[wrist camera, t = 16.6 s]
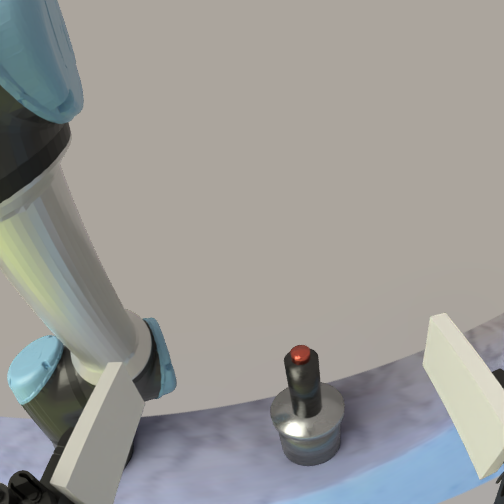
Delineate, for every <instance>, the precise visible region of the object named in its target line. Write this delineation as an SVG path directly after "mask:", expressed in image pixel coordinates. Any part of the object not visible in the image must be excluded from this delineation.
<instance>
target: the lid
mask: <svg viewBox="0 0 504 504" xmlns="http://www.w3.org/2000/svg"><path fill="white" fill-rule="evenodd" d="M284 364H285V369H286V375H287V381H288V386H289V387H288V388H286V389H284V390H283V391H282V392H280V393H279V394H278V395H277V396H276V398H275V399H274V401H273V403H272V405H271V410H270V413H271V419H272V422H273V425H274V427H275V428H276V430H277V431H278V432H279V433H280V434H282V435H283V436H285V437H287V438H289V439H292V440H296V441H313V440H317V439H320V438H323V437H325V436H327V435H329V434H330V433H332V432H333V431H334V430H335V429H336V428H337V427H338V426H339V425H340V423H341V421H342V419H343V417H344V400H343V397H342V395H341V394H340V393H339V391H338V390H337V389H335V388H334V387H332V386H330V385H328V384H325V383H322V382H320V372H319V361H318V354H317V353H316V352H315V351H314V350H312V349H309V348H308V347H307V346H305V345H298V346H295V347H293V348H292V349H291V351H290V352H289V353H288V354H287V355H286V356H285V358H284Z"/></svg>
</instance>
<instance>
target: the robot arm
mask: <svg viewBox="0 0 504 504" xmlns="http://www.w3.org/2000/svg"><path fill="white" fill-rule="evenodd" d="M83 102H84V100H83V91H82V85H81V80H80V77H79V74H78V70H77V67H76V60H75V56H74V52H73V49H72V45H71V42H70V38H69V35H68V32H67V29H66V25H65V22H64V19H63V16H62V13H61V10H60V7H59V4H58V1H57V0H0V270H1V271H2V272H3V274H4V275H5V277H6V278H7V279H8V280H9V282H10V283H11V284H12V286H13V287H14V288H15V289H16V291H17V292H18V293H19V294H20V296H21V297H22V298H23V299H24V300H25V302H26V303H27V304H28V305H29V307H30V308H31V309H32V310H33V311H34V312H35V314H36V315H37V316H38V317H39V318H40V319H41V320H42V321H43V322H44V324H45V325H46V326H47V327H48V328H49V329H50V330H51V331H52V332H53V334H54V335H55V336H52V335H47V336H44V337H41V338H39V339H37V340H35V341H33V342H32V343H30V344H29V345H28V346H26V347H25V348H24V349H23V350H22V351H21V352H20V353H19V354H18V355H17V356H16V357H15V359H14V360H13V362H12V363H11V365H10V368H9V370H8V375H7V377H8V378H7V379H8V384H9V386H10V388H11V390H12V391H13V393H14V395H15V396H16V398H17V401H18V402H19V403H20V404H21V405H22V406H23V408H24V409H25V410H26V412H27V413H28V414H29V415H30V417H31V418H32V419H33V420H34V422H35V423H36V424H37V425H38V426H39V428H40V429H41V430H42V431H43V432H44V433H45V435H46V436H47V437H48V438H49V439H50V440H51V441H52V443H53V445H54V447H55V450H54V452H53V453H54V454H52V456H51V459H50V461H49V463H48V465H47V467H46V469H45V471H44V474H43V476H42V478H41V480H40V482H39V481H38V480H37V479H36V478H35V477H34V476H33V475H32V474H31V473H29V472H28V471H24V470H22V471H18V472H16V473H15V474H13V476H12V477H11V478H10V480H9V483H8V487H7V486H5V485H4V484H2V483H0V504H113V502H114V499H115V496H116V492H117V489H118V486H119V482H120V479H121V476H122V473H123V470H124V467H125V466H126V465H127V463H128V462H129V460H130V458H131V455H132V451H133V439H134V436H135V433H136V430H137V427H138V424H139V421H140V418H141V415H142V412H143V409H144V406H145V401H148V400H151V399H158V398H160V397H162V396H163V395H165V394H168V393H170V392H172V391H173V390H174V389H175V388H176V377H175V373H174V369H173V366H172V364H171V359H170V355H169V352H168V349H167V346H166V343H165V340H164V337H163V334H162V332H161V329H160V326H159V324H158V322H157V321H156V320H155V319H154V318H143V319H142V318H141V317H140V316H138V315H137V314H135V313H134V312H132V311H130V310H128V309H124V307H123V305H122V304H121V302H120V300H119V298H118V296H117V294H116V292H115V290H114V288H113V286H112V284H111V282H110V280H109V278H108V276H107V274H106V272H105V270H104V268H103V266H102V264H101V262H100V260H99V258H98V256H97V253H96V251H95V249H94V247H93V245H92V242H91V240H90V238H89V236H88V233H87V231H86V229H85V227H84V224H83V222H82V220H81V217H80V215H79V212H78V210H77V208H76V205H75V203H74V200H73V198H72V195H71V192H70V190H69V187H68V185H67V182H66V179H65V177H64V174H63V171H62V168H61V165H60V162H61V160H62V158H63V157H64V155H65V153H66V151H67V149H68V147H69V146H70V143H71V138H72V135H71V131H70V127H69V123H68V122H69V121H71V120H72V119H73V118H74V116H76V115H77V114H79V113H80V112H81V110H82V108H83ZM63 344H64V345H63ZM422 365H423V367H424V369H425V370H426V372H427V374H428V376H429V378H430V379H431V381H432V383H433V385H434V387H435V389H436V390H437V392H438V394H439V396H440V398H441V400H442V402H443V404H444V406H445V407H446V409H447V411H448V413H449V415H450V417H451V419H452V421H453V423H454V425H455V427H456V429H457V431H458V433H459V435H460V437H461V439H462V441H463V444H464V446H465V448H466V450H467V452H468V454H469V456H470V459H471V461H472V463H473V465H474V467H475V470H476V472H477V474H478V476H479V479H480V480H481V479H483V478H485V477H487V476H489V475H491V474H493V473H495V472H497V471H498V469H499V468H500V467H501V465H502V464H503V463H504V371H503V370H502V369H498V370H495V371H493V372H491V371H490V370H489V368H488V367H487V365H486V364H485V363H484V361H483V360H482V359H481V357H480V356H479V355H478V353H477V352H476V351H475V349H474V348H473V347H472V346H471V344H470V343H469V342H468V340H467V339H466V338H465V337H464V335H463V334H462V333H461V331H460V330H459V329H458V328H457V326H456V325H455V324H454V323H453V322H452V320H451V319H450V318H449V317H448V315H447V314H446V313H442V314H438V315H434V316H431V317H430V321H429V328H428V335H427V341H426V348H425V353H424V359H423V364H422ZM500 480H502V481H501V484H500V487H499V490H498V493H497V497H496V499H495V502H494V504H504V472H503V473H502V474H501V475H500V477H499V478H498V480H497V481H496V483H499V482H500Z"/></svg>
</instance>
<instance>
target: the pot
mask: <svg viewBox="0 0 504 504" xmlns="http://www.w3.org/2000/svg"><path fill="white" fill-rule="evenodd" d="M279 436H280V440H281V444H282V448H283V451H284V454H285V455H286V457H287V458H288V459H289V460H291V461H292V462H294V463H296V464H299V465H303V466H314V465H319V464H322V463H324V462H326V461H328V460H329V459H331V458H332V457H333V456H334V455H335V454H336V452H337V451H338V449H339V446H340V425H339V426H338V427H337V428H336V429H335V430H334V431H333V432H332V433H330V434H329V435H327V436H325V437H323V438H320V439H317V440H313V441H296V440H292V439H289V438H287V437H285V436H283V435H282V434H280V433H279Z"/></svg>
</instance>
